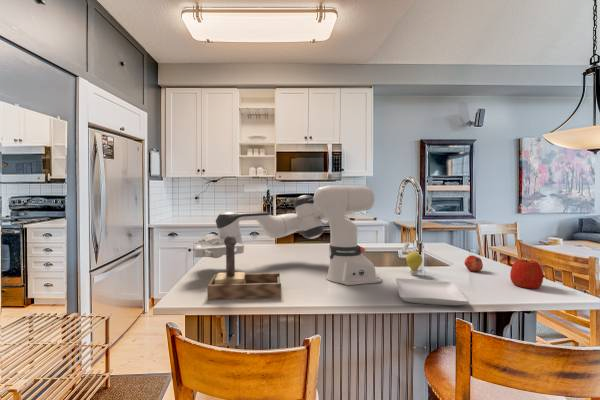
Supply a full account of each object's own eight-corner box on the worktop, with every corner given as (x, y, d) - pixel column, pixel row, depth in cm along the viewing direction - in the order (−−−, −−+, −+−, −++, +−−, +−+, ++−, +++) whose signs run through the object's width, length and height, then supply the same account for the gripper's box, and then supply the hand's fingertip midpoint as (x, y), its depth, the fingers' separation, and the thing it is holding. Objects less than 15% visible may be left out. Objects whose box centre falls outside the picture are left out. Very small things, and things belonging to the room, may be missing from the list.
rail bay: (279, 285, 130) (279, 272, 130) (280, 297, 116) (280, 283, 116) (214, 287, 128) (214, 274, 127) (207, 300, 114) (207, 285, 113)
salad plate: (469, 311, 106) (469, 300, 105) (399, 305, 110) (399, 295, 110) (452, 289, 126) (453, 281, 126) (394, 286, 131) (394, 277, 130)
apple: (541, 284, 132) (542, 258, 132) (544, 292, 123) (546, 263, 122) (509, 280, 138) (510, 254, 137) (510, 287, 128) (511, 260, 128)
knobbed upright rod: (245, 285, 126) (245, 233, 125) (243, 292, 117) (243, 237, 116) (218, 285, 125) (217, 233, 124) (214, 293, 116) (214, 237, 115)
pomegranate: (461, 274, 155) (469, 265, 147) (460, 259, 159) (467, 250, 151) (478, 276, 154) (487, 268, 146) (477, 262, 158) (485, 253, 150)
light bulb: (406, 276, 143) (406, 253, 143) (405, 272, 150) (405, 250, 149) (422, 277, 142) (423, 254, 141) (421, 273, 148) (421, 251, 148)
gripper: (239, 252, 149) (248, 258, 136) (191, 256, 140) (196, 264, 127) (239, 238, 148) (248, 243, 136) (191, 241, 140) (196, 247, 127)
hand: (222, 253), depth 132 cm, fingers open, 8 cm apart
